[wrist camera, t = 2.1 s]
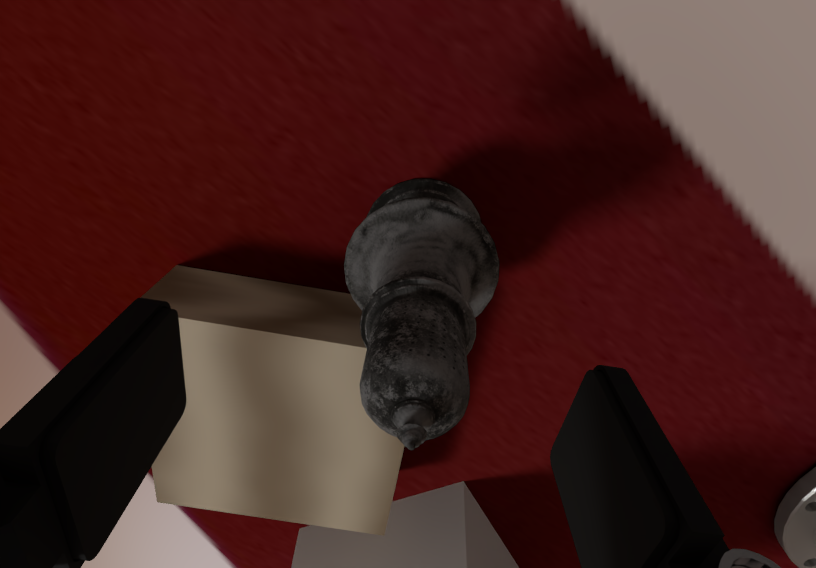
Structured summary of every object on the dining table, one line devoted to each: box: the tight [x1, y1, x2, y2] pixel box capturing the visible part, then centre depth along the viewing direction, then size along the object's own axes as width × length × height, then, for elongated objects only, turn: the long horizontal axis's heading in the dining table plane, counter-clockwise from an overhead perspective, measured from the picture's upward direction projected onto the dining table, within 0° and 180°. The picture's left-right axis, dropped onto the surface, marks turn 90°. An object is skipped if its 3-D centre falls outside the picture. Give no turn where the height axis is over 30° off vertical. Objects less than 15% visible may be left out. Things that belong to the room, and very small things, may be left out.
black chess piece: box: [344, 179, 499, 450], centre depth 15 cm, size 6×6×12 cm
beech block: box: [141, 265, 404, 536], centre depth 23 cm, size 12×12×4 cm
